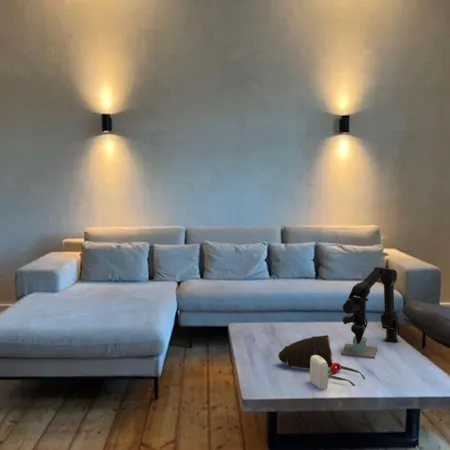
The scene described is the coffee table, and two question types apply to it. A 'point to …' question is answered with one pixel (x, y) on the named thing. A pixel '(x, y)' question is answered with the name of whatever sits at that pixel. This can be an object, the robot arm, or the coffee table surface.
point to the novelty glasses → (334, 370)
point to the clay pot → (306, 352)
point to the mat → (368, 353)
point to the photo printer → (319, 372)
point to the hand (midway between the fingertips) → (359, 340)
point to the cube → (359, 345)
